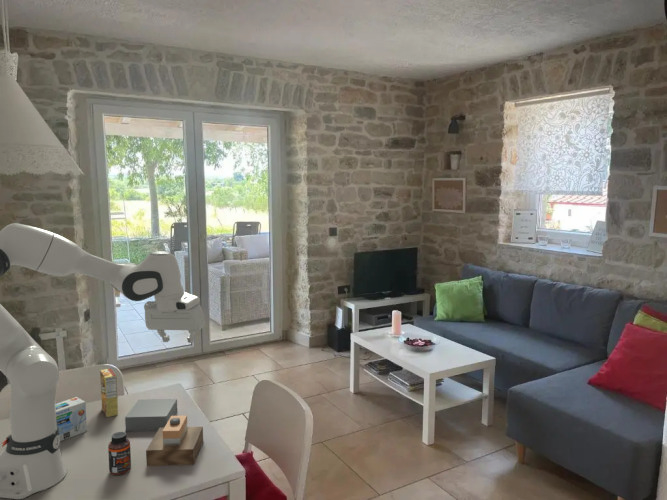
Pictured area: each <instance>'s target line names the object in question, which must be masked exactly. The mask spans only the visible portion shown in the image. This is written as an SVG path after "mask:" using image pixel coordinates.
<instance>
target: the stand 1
mask: <svg viewBox="0 0 667 500" xmlns="http://www.w3.org/2000/svg"><path fill="white" fill-rule="evenodd" d="M177 414H178V398H158V399H157V398H156V399H155V398H154V399H153V398H151V399H147V398H146V399H138V400H137V401H136V403H134V405H133V406H132V408H131V409H130V410H129V412H128V413H127V414H126V415H125V417H124V424H125V431H126V432H135V431H138V432H140V431H158V430H159V428H165V426H166V424H167V422H168V421H169V419H170V417H171V416H177Z"/></svg>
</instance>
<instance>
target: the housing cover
mask: <svg viewBox="0 0 667 500" xmlns="http://www.w3.org/2000/svg"><path fill="white" fill-rule="evenodd" d="M186 424H187V425H188V415H183V414H182V415H175V416H171V417H170V419H169V421H168V422H167V424H166V426H165V428H164V429H163V431H162V433H163V439H176V438H180V436H181V434H182V432H183V430H184V428H185V426H186Z"/></svg>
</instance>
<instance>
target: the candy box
mask: <svg viewBox="0 0 667 500" xmlns="http://www.w3.org/2000/svg"><path fill="white" fill-rule="evenodd" d="M99 373H100V374H99V375H100V394H101V396H100V397H101V409H102V411H103V413H104V414H105V417H106V418H110V417H114V416H118V415H119V406H118V405H119V402H118V384H117V383H118V381H117V380H118V378H117V377H118V376H117V375H116V373H115V372H114V370H113V369H112V368H104V369H100V370H99Z"/></svg>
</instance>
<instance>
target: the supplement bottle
mask: <svg viewBox="0 0 667 500" xmlns="http://www.w3.org/2000/svg"><path fill="white" fill-rule="evenodd" d="M110 440H111V441H110V442H108V447H107V448H108V452H107V453H108V469H109V470H108V471H109V474H111V475H112V476H122V475H125V474H127V473H128V472H129V471H130V470H131V468H132V457H131V455H132V454H131V453H132V452H131V441H130V439H129V438H127V433H126V432H125V431H118V432H117V431H116V432H115V433H113V434H112V435H111V438H110Z"/></svg>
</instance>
